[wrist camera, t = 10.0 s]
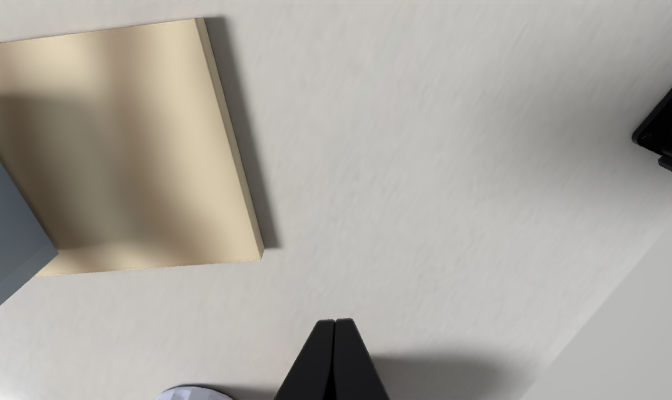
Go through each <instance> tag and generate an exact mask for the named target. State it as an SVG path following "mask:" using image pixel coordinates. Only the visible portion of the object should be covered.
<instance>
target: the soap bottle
mask: <svg viewBox="0 0 672 400" xmlns="http://www.w3.org/2000/svg"><path fill="white" fill-rule="evenodd" d="M154 400H233V399H231V398H230V397H228V396H227V395H225V394H222V393H219V392H217V391H214V390H211V389H206V388H200V387H194V386H193V387H176V388H173V389H170V390H167V391H164V392H163V393H161V394H160V395H159V396H158V397H156V398H155V399H154Z"/></svg>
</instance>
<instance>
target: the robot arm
mask: <svg viewBox="0 0 672 400" xmlns="http://www.w3.org/2000/svg"><path fill="white" fill-rule="evenodd" d="M645 134H647V135H646V137H644V138H643V139H642V137H643V136H644V135H645ZM632 141H633V142H634V143H635V144H637V145H640V146H642V147H644V148H646V149H648V150H650V151H653V152H655V153H657V154H659V155H661V157H660V158H659V159H658V163H659V165H660V166H662V167H664V168H666V169H668V170H670V171H671V172H672V89H671V90H670V91H669V92H668V93H667V95H666V96H665V97H664V98H663V99H662V100H661V101H660V103H659V104H658V105H657V106H656V107H655V108H654V110H653V111H652V112H651V113H650V114H649V115H648V117H647V118H646V119H645V120H644V121H643V122H642V124H641V125H640V126H639V127H638V128H637V129H636V130H635V132H634V133H633V135H632ZM274 400H390V398H389V396H388V394H387V392H386V389H385V387H384V385H383V383H382V381H381V379H380V376H379V374H378V372H377V370H376V368H375V366H374V364H373V361H372V359H371V357H370V355H369V353H368V351H367V349H366V346H365V344H364V342H363V340H362V338H361V336H360V333H359V331H358V329H357V327H356V325H355V323H354V321H353V319H351V318H344V319H337V320H336V321H335V320H333V319H328V320H319V321H318V322H317V323H316V325H315V326H314V328H313V330H312V332H311V334H310V335H309V337H308V339H307V341H306V342H305V344H304V346H303V348H302V350H301V351H300V353H299V355H298V357H297V359H296V360H295V362H294V364H293V366H292V367H291V369H290V371H289V373H288V375H287V376H286V378H285V380H284V382H283V383H282V385H281V387H280V389H279V391H278V392H277V394H276V396H275V398H274Z"/></svg>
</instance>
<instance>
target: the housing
mask: <svg viewBox="0 0 672 400" xmlns="http://www.w3.org/2000/svg"><path fill="white" fill-rule="evenodd" d="M57 255H58V252H57V250H56V249H55V247H54V246H53V244H52V243H51V241H50V239H49V238H48V236H47V235H46V233H45V232H44V230H43V228H42V227H41V225H40V224H39V222H38V220H37V219H36V217H35V216H34V214H33V213H32V211H31V209H30V208H29V206H28V205H27V203H26V202H25V200H24V198H23V197H22V195H21V194H20V192H19V191H18V189H17V187H16V186H15V184H14V183H13V181H12V180H11V178H10V176H9V175H8V173H7V172H6V170H5V169H4V167H3V165H2V164H1V162H0V305H1V304H2V303H4V302H5V301H6V300H7V299H8V298H9V297H10V296H11V295H13V294H14V293H15V292H16V291H17V290H18V289H19V288H21V287H22V286H23V285H24V284H25V283H26V282H27V281H29V280H30V279H31V278H32V277H33V276H34V275H35V274H37V273H38V272H39V271H40V270H41V269H42V268H43V267H45V266H46V265H47V264H48V263H49V262H50V261H51V260H53V259H54V258H55V257H56V256H57Z"/></svg>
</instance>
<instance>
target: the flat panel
mask: <svg viewBox="0 0 672 400" xmlns="http://www.w3.org/2000/svg"><path fill="white" fill-rule="evenodd" d="M0 162H1V164H2V165H3V167H4V169H5V170H6V172H7V173H8V175H9V176H10V178H11V180H12V181H13V183H14V184H15V186H16V187H17V189H18V191H19V192H20V194H21V195H22V197H23V198H24V200H25V202H26V203H27V205H28V206H29V208H30V209H31V211H32V213H33V214H34V216H35V217H36V219H37V220H38V222H39V224H40V225H41V227H42V228H43V230H44V232H45V233H46V235H47V236H48V238H49V239H50V241H51V243H52V244H53V246H54V247H55V249H56V250H57V252H58V255H57V256H56V257H55V258H54V259H53V260H51V261H50V262H49V263H48V264H47V265H46V266H45V267H43V268H42V269H41V270H40V271H39V272H38V273H37V274H35V275H34V276H33V277H36V276H50V275H64V274H77V273H91V272H105V271H118V270H132V269H146V268H159V267H173V266H187V265H200V264H214V263H228V262H241V261H255V260H261V258H262V255H263V252H264V249H265V248H264V245H263V241H262V237H261V233H260V229H259V226H258V222H257V218H256V214H255V210H254V207H253V203H252V199H251V195H250V191H249V188H248V184H247V180H246V176H245V172H244V169H243V165H242V161H241V157H240V154H239V150H238V146H237V142H236V138H235V135H234V131H233V127H232V123H231V119H230V116H229V112H228V108H227V104H226V100H225V97H224V93H223V89H222V85H221V81H220V78H219V74H218V70H217V66H216V63H215V59H214V55H213V51H212V47H211V44H210V40H209V36H208V32H207V28H206V25H205V21H204V18H196V19H187V20H180V21H172V22H164V23H156V24H148V25H140V26H132V27H124V28H116V29H109V30H101V31H93V32H85V33H77V34H69V35H61V36H53V37H45V38H38V39H30V40H22V41H14V42H6V43H0Z"/></svg>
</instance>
